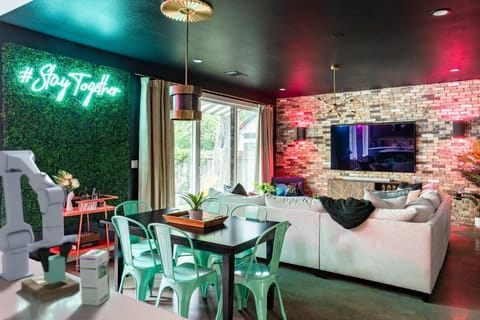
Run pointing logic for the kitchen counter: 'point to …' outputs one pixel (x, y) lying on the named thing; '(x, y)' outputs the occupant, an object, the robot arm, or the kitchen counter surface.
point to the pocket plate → (49, 288)
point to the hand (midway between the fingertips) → (54, 269)
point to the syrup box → (94, 277)
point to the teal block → (55, 269)
